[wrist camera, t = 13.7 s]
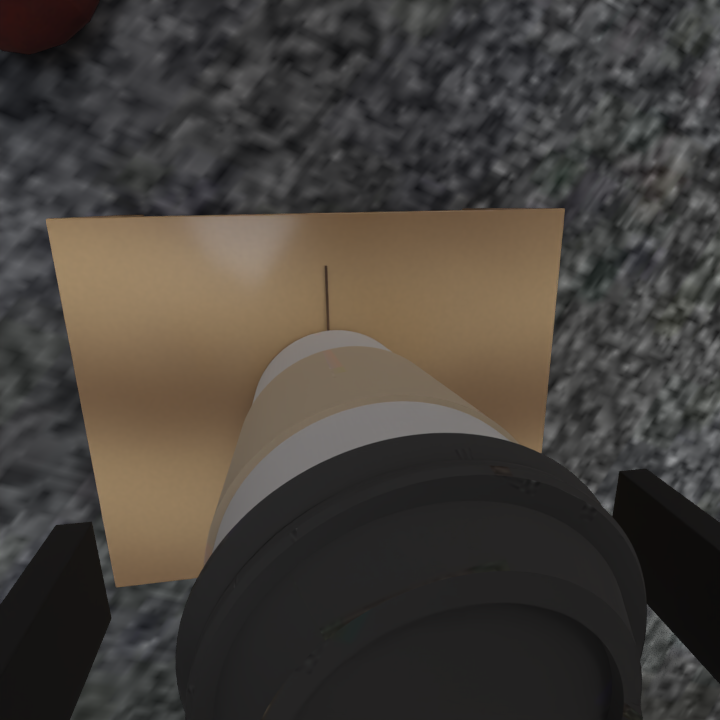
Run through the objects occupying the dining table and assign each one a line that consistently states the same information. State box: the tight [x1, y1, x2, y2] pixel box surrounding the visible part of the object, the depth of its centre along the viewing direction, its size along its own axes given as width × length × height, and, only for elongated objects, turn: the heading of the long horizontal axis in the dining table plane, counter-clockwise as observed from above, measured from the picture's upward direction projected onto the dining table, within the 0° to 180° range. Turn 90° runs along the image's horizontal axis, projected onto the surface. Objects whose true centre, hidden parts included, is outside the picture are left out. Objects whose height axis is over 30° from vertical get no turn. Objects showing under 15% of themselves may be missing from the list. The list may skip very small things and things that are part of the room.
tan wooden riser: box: [46, 208, 565, 587], centre depth 26 cm, size 16×20×9 cm
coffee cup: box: [176, 330, 647, 720], centre depth 15 cm, size 9×9×15 cm
